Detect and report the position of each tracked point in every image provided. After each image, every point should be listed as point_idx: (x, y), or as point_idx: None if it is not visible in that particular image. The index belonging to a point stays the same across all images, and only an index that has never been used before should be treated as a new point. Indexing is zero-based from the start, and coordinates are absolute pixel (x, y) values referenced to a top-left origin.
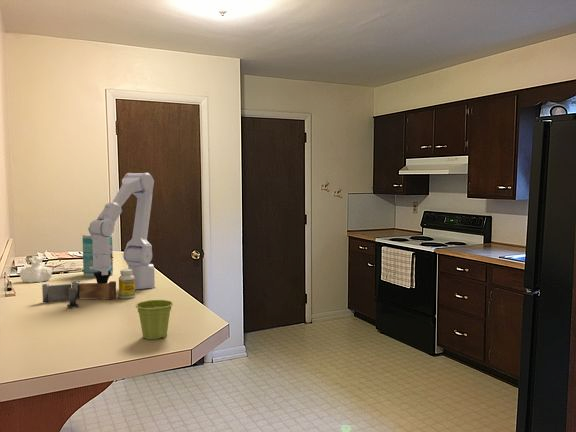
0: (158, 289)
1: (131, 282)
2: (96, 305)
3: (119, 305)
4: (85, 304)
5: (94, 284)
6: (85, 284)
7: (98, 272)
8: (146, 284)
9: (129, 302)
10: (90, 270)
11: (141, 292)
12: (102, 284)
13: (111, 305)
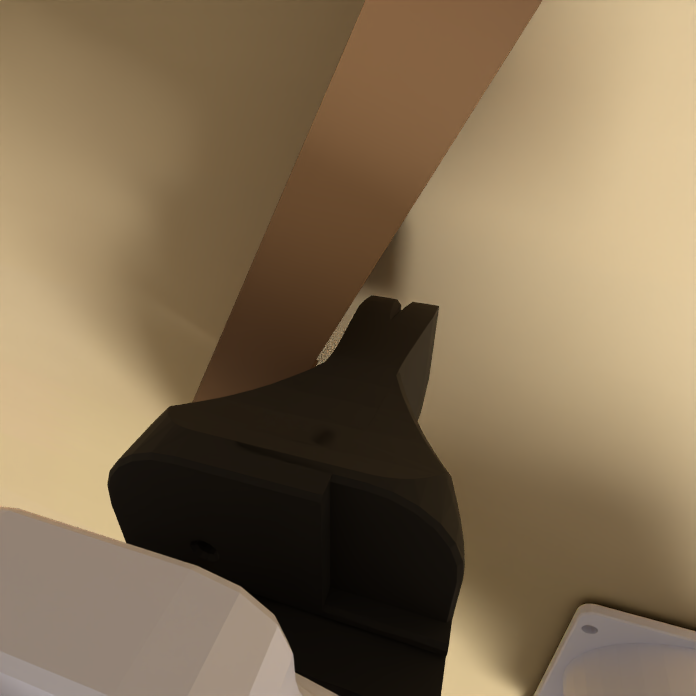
0: (455, 688)
1: None
2: (48, 137)
3: (29, 321)
4: (115, 7)
5: (252, 276)
6: (335, 85)
7: (243, 576)
8: None
9: (112, 409)
10: None
11: None
12: (206, 382)
13: (34, 268)
